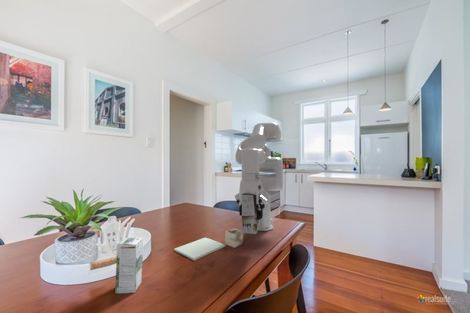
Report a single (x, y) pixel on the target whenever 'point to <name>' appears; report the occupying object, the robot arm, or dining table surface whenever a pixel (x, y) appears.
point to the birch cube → (233, 237)
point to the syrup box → (129, 265)
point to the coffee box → (249, 214)
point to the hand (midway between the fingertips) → (250, 216)
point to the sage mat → (199, 248)
